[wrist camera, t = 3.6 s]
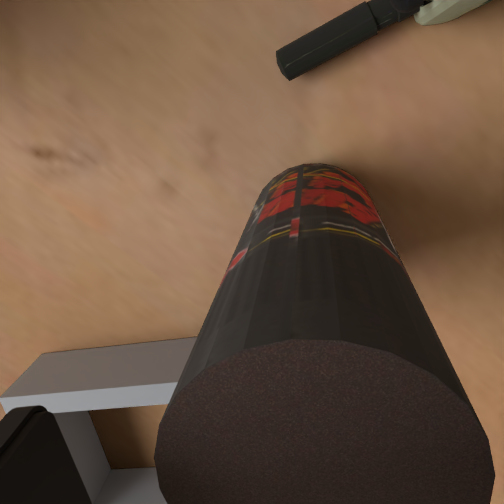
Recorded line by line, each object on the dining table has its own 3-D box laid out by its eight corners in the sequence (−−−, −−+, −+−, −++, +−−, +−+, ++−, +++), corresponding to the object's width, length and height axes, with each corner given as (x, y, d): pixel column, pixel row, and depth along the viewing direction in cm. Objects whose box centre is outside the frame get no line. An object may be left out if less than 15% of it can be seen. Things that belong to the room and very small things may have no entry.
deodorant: (400, 233, 21) (563, 521, 8) (302, 300, 23) (291, 627, 10) (324, 136, 20) (353, 266, 6) (227, 215, 22) (89, 446, 8)
